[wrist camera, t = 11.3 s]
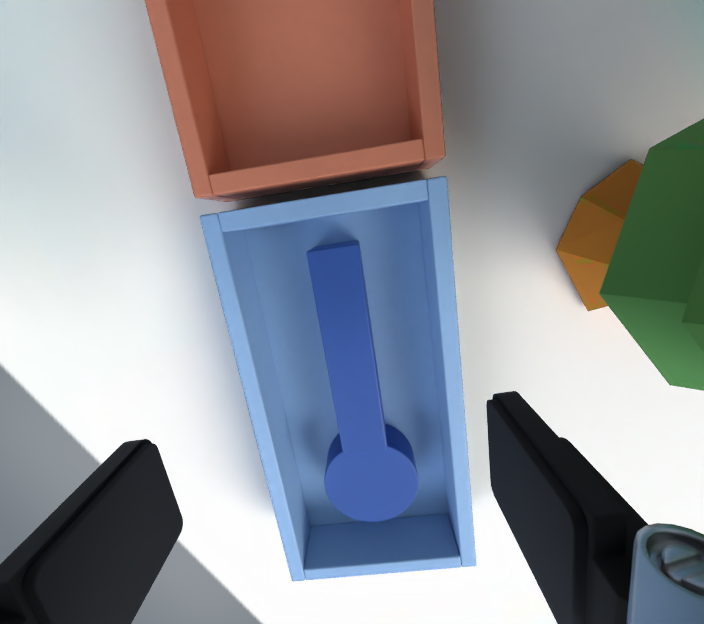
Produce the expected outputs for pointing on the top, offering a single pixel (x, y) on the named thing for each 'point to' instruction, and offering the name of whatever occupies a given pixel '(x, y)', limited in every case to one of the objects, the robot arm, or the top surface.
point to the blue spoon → (357, 395)
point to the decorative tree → (648, 253)
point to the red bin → (299, 91)
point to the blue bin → (313, 380)
